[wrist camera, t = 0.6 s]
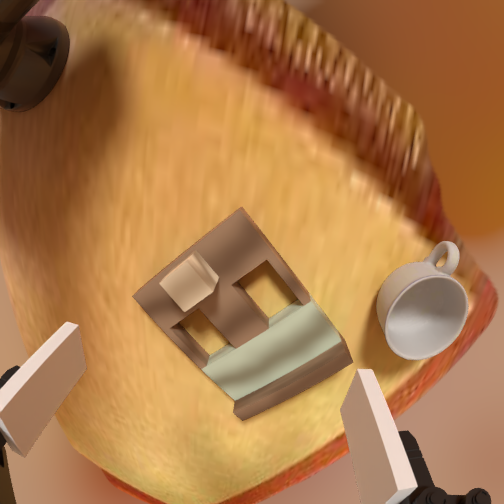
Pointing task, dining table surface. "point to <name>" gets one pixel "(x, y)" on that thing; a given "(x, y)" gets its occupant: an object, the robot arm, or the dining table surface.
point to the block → (190, 281)
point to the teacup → (423, 305)
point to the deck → (250, 323)
